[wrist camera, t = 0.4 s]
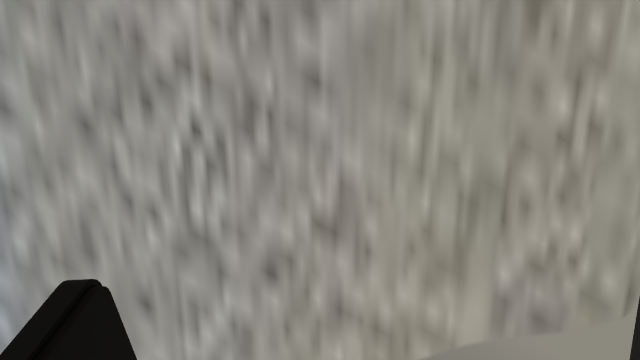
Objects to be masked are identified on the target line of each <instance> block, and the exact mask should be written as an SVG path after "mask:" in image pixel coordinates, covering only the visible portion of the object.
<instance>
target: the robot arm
mask: <svg viewBox="0 0 640 360" xmlns="http://www.w3.org/2000/svg"><path fill="white" fill-rule="evenodd" d="M0 360H137V358H136V356H135V353H134V351H133V348H132V346H131V343H130V340H129V338H128V335H127V333H126V330H125V328H124V325H123V323H122V320H121V318H120V315H119V313H118V310H117V307H116V305H115V302H114V300H113V297H112V295H111V292H110V291H109V289H108V288H107V287H104V286H102V285H101V283H100V282H99V281H98V280H95V279H85V280H67V281H64V282H62V283H61V284H60V285H59V286H58V287H57V288H56V289H55V290H54V292H53V293H52V294H51V295H50V296H49V298H48V299H47V300H46V301H45V302H44V303H43V305H42V306H41V307H40V308H39V309H38V311H37V312H36V313H35V314H34V315H33V317H32V318H31V319H30V320H29V321H28V323H27V324H26V325H25V326H24V327H23V328H22V330H21V331H20V332H19V333H18V334H17V336H16V337H15V338H14V339H13V340H12V342H11V343H10V344H9V345H8V346H7V348H6V349H5V350H4V351H3V352H2V353H1V355H0ZM630 360H640V298H639V304H638V310H637V317H636V323H635V329H634V335H633V342H632V348H631V355H630Z"/></svg>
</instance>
